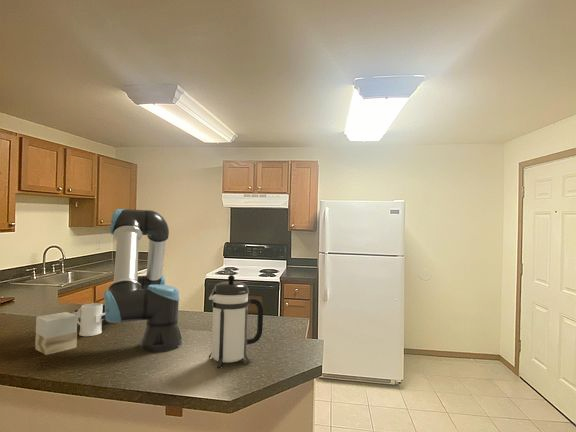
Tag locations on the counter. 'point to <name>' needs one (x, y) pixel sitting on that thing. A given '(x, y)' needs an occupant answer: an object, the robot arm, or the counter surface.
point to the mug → (90, 319)
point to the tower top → (56, 324)
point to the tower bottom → (55, 343)
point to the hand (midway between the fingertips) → (81, 318)
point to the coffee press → (232, 321)
